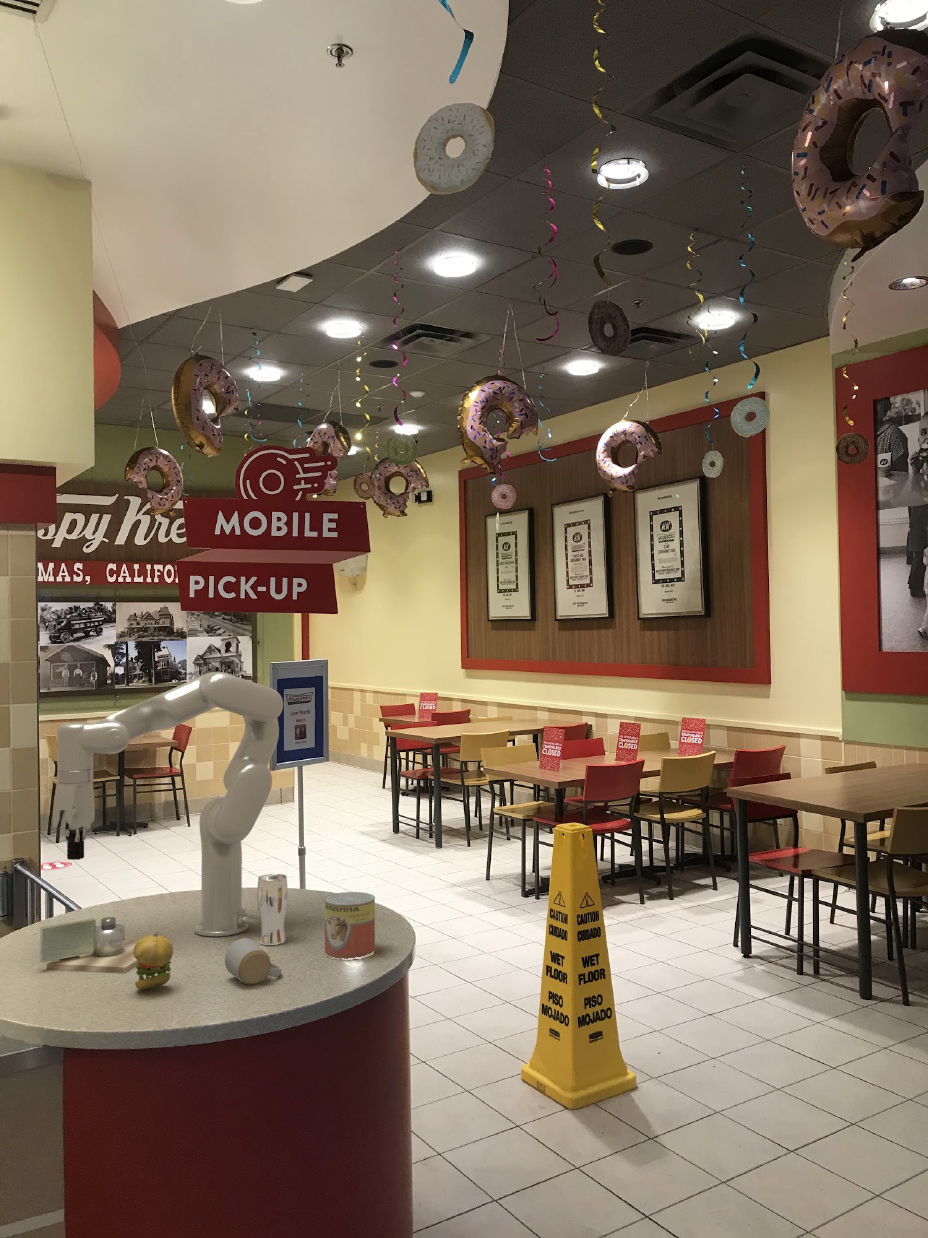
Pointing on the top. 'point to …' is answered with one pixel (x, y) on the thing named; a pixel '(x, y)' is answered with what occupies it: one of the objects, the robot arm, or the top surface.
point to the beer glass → (272, 907)
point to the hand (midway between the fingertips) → (75, 858)
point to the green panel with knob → (81, 939)
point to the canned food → (349, 924)
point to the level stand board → (99, 961)
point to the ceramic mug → (249, 962)
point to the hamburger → (153, 961)
